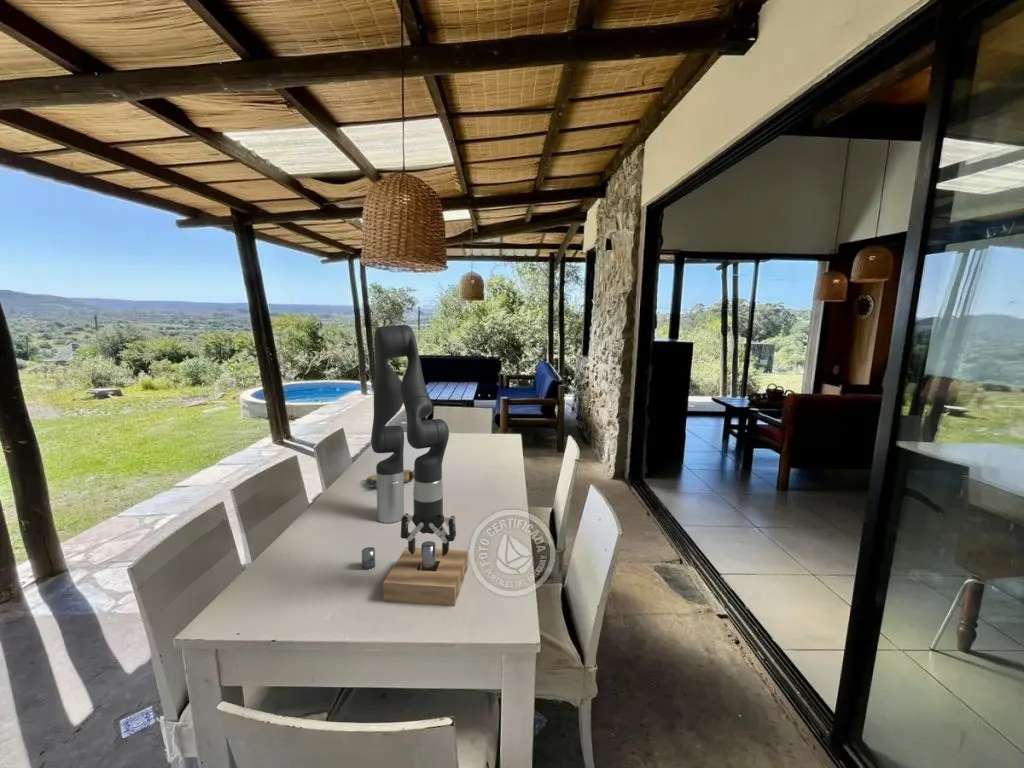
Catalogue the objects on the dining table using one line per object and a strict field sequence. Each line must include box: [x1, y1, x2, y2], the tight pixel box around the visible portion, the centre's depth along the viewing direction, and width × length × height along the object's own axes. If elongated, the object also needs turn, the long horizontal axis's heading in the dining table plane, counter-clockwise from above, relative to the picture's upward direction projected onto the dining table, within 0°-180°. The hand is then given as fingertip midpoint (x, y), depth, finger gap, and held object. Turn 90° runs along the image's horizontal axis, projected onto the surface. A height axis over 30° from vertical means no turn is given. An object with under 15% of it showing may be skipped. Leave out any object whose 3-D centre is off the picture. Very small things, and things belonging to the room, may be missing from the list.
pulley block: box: [361, 468, 414, 488], centre depth 195 cm, size 14×6×30 cm
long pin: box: [421, 540, 436, 571], centre depth 120 cm, size 4×4×11 cm
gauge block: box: [382, 546, 469, 607], centre depth 120 cm, size 18×18×5 cm
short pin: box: [361, 546, 376, 571], centre depth 127 cm, size 4×4×5 cm
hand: (428, 553), depth 119 cm, fingers open, 8 cm apart
